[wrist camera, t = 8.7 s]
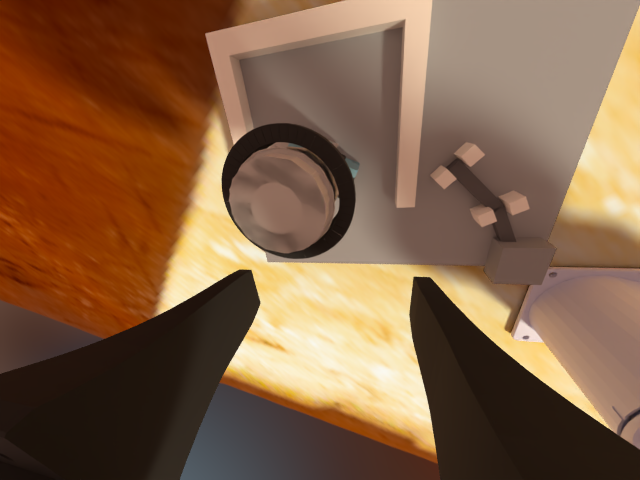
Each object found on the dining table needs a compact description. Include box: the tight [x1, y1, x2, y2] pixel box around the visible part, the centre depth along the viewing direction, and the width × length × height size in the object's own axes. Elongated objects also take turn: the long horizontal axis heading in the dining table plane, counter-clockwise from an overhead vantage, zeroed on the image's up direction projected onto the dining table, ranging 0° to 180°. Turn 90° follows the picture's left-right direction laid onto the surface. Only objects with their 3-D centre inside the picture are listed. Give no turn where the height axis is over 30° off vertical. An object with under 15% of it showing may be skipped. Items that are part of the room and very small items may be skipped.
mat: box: [239, 0, 640, 266], centre depth 16 cm, size 22×17×1 cm
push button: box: [222, 123, 360, 259], centre depth 12 cm, size 7×5×10 cm
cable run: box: [430, 142, 557, 285], centre depth 15 cm, size 4×11×2 cm, turn 38°
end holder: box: [205, 0, 432, 208], centre depth 15 cm, size 12×11×1 cm
